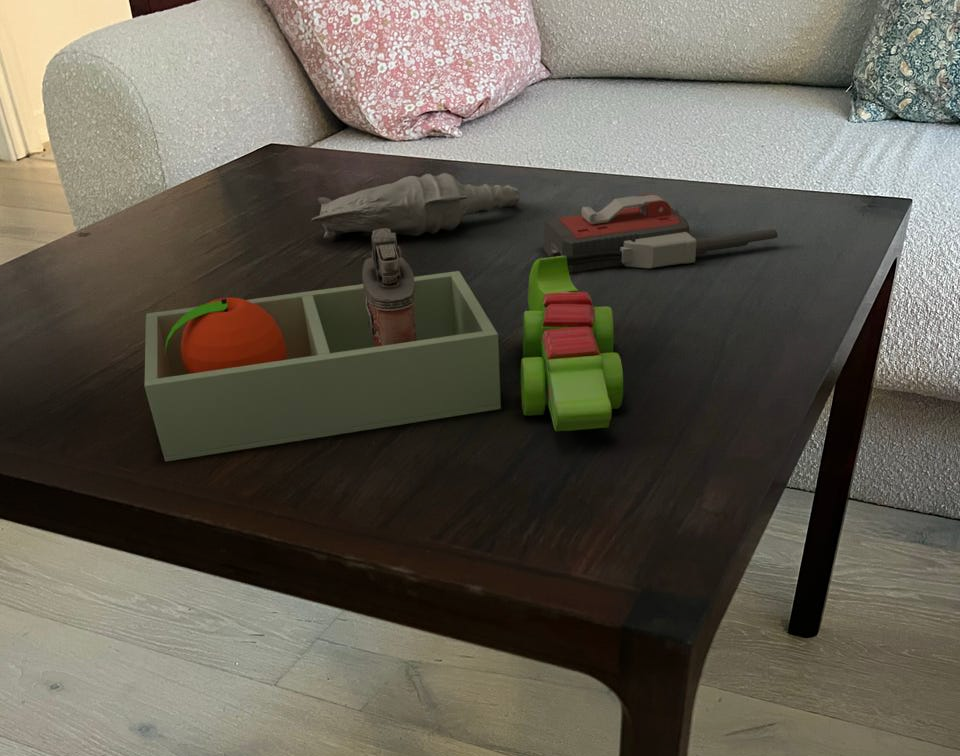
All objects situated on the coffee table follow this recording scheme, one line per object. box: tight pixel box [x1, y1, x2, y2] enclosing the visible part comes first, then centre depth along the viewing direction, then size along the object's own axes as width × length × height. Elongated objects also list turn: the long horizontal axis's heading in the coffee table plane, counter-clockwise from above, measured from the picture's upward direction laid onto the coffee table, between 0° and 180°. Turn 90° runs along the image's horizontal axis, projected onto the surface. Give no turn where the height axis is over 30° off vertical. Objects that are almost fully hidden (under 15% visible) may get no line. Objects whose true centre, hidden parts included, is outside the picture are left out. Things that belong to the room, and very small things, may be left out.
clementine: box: [164, 297, 286, 374], centre depth 70 cm, size 8×7×7 cm
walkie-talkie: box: [543, 193, 778, 273], centre depth 91 cm, size 9×4×20 cm
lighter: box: [361, 229, 417, 347], centre depth 71 cm, size 8×3×10 cm, turn 10°
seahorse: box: [311, 172, 521, 239], centre depth 98 cm, size 5×12×20 cm
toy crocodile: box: [520, 256, 624, 432], centre depth 72 cm, size 20×7×6 cm, turn 179°
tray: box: [143, 270, 502, 462], centre depth 72 cm, size 12×22×6 cm, turn 103°
